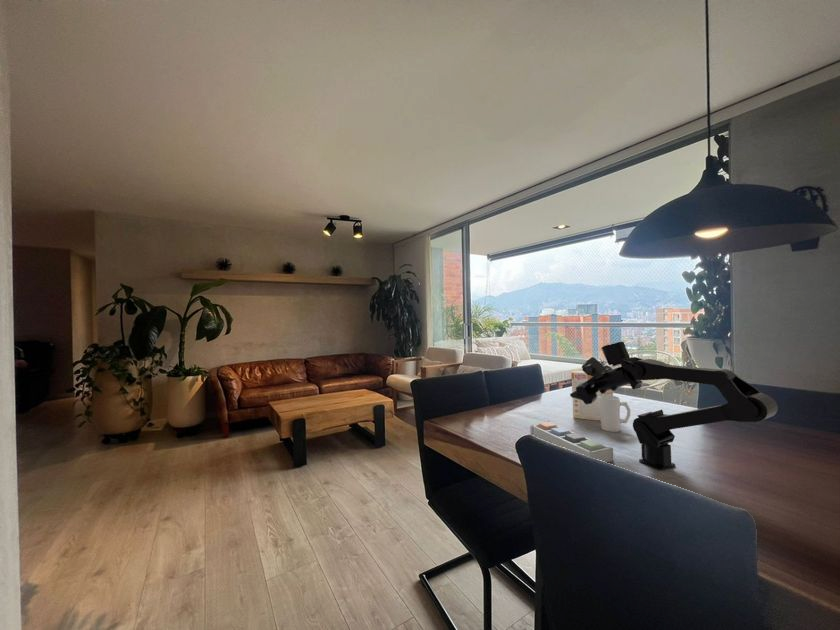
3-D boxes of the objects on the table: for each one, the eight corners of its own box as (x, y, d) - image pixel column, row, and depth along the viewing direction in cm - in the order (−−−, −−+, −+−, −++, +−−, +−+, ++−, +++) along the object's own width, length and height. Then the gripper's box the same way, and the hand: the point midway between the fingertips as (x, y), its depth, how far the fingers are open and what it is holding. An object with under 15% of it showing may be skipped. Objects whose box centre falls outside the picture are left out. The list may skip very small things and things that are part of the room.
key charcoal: (585, 444, 109) (585, 436, 109) (574, 446, 108) (574, 438, 108) (575, 440, 113) (575, 432, 113) (565, 442, 112) (564, 434, 112)
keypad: (613, 461, 102) (613, 447, 102) (589, 466, 99) (589, 453, 99) (550, 432, 128) (550, 422, 128) (530, 436, 125) (530, 425, 125)
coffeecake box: (614, 418, 142) (612, 371, 142) (613, 423, 136) (612, 374, 136) (575, 413, 150) (573, 369, 150) (572, 418, 144) (571, 371, 144)
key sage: (602, 451, 103) (602, 443, 103) (591, 454, 101) (591, 446, 101) (591, 447, 107) (590, 439, 107) (580, 449, 105) (580, 441, 105)
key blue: (570, 437, 115) (569, 430, 115) (560, 439, 114) (559, 432, 114) (561, 433, 119) (560, 426, 119) (551, 435, 118) (551, 428, 118)
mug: (599, 430, 128) (598, 398, 128) (600, 425, 134) (599, 394, 134) (631, 434, 123) (630, 401, 123) (630, 428, 129) (629, 397, 129)
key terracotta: (556, 431, 121) (556, 424, 121) (546, 433, 120) (546, 426, 120) (548, 428, 125) (548, 421, 125) (538, 429, 124) (538, 423, 124)
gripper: (614, 345, 116) (578, 360, 129) (586, 367, 106) (550, 380, 118) (634, 375, 114) (595, 386, 127) (607, 399, 104) (568, 409, 116)
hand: (577, 389), depth 122 cm, fingers open, 9 cm apart
